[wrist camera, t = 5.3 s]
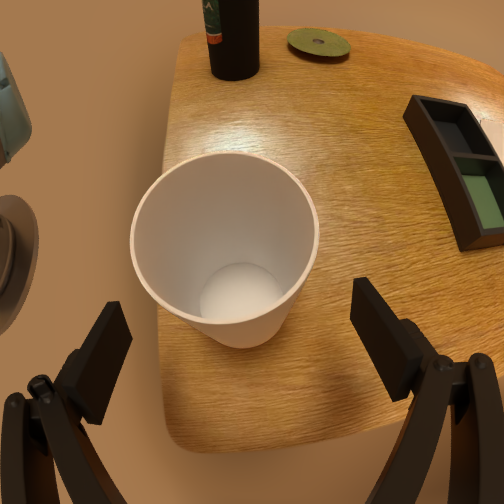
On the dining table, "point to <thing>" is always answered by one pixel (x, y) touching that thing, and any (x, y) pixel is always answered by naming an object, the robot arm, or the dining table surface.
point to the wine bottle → (232, 37)
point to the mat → (318, 42)
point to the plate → (495, 135)
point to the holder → (461, 169)
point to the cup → (226, 244)
